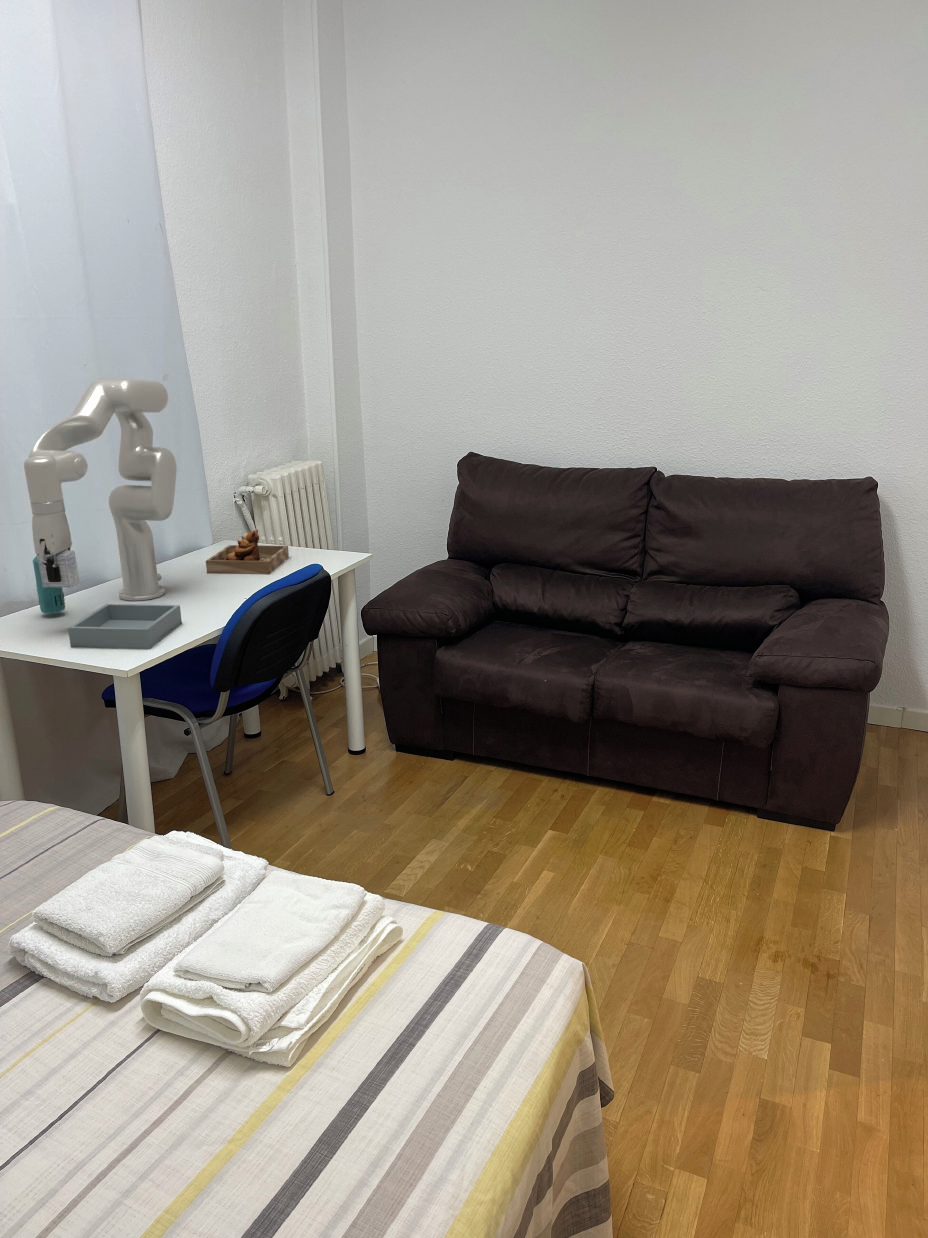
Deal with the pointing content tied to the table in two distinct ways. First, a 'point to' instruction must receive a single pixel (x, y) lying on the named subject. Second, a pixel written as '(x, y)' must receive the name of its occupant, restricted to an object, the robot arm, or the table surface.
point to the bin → (125, 626)
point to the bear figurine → (247, 548)
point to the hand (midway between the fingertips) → (60, 577)
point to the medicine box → (62, 570)
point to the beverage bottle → (48, 594)
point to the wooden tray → (247, 567)
